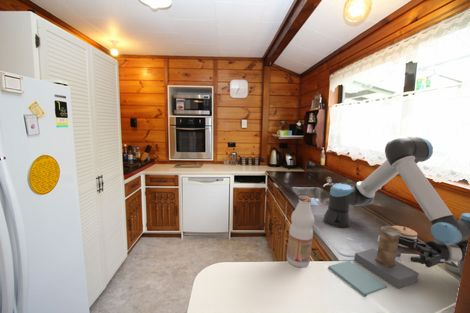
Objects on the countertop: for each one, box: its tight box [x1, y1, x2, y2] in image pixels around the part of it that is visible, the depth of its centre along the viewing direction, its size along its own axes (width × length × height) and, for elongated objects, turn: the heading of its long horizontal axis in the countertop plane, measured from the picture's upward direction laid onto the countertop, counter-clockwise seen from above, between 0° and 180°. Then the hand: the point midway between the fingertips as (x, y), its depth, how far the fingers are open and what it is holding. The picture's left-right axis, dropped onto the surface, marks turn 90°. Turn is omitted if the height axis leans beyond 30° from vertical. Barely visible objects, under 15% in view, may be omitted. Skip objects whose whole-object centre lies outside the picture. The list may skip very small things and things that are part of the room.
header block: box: [353, 248, 420, 289], centre depth 92 cm, size 18×12×4 cm, turn 24°
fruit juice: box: [286, 195, 315, 268], centre depth 94 cm, size 9×9×28 cm
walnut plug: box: [376, 225, 401, 268], centre depth 91 cm, size 5×5×18 cm
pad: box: [327, 260, 388, 297], centre depth 87 cm, size 16×12×1 cm
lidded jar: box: [391, 225, 418, 248], centre depth 116 cm, size 11×11×9 cm
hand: (388, 247), depth 90 cm, fingers open, 13 cm apart
